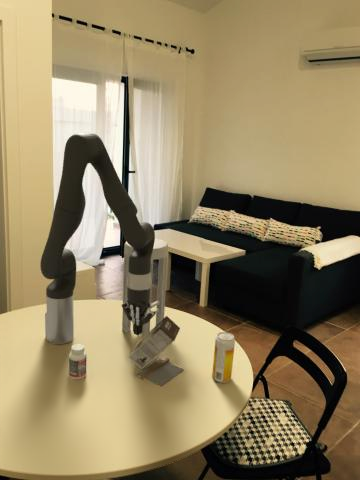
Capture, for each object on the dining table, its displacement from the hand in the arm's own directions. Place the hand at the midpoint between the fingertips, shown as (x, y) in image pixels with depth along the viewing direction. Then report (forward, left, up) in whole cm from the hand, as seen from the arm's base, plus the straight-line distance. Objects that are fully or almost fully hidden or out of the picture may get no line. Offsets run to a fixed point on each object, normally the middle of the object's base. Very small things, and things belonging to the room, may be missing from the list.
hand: (137, 333), depth 148 cm
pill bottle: (-9, -18, -10) cm, 23 cm away
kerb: (+8, 0, -10) cm, 13 cm away
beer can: (+27, +10, -10) cm, 31 cm away
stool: (-13, +19, -10) cm, 25 cm away
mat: (+10, 0, -10) cm, 14 cm away
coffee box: (+1, 0, -8) cm, 8 cm away
